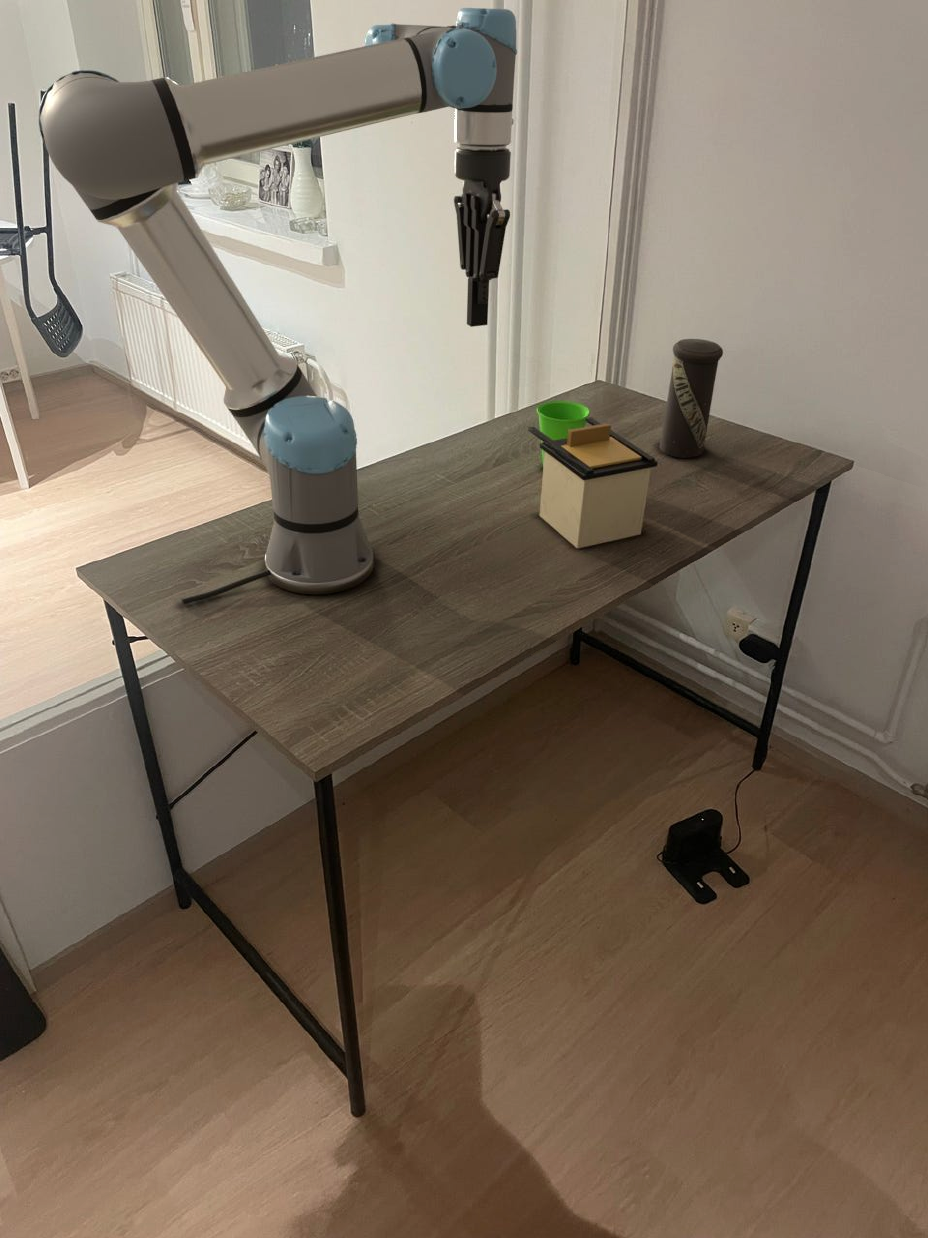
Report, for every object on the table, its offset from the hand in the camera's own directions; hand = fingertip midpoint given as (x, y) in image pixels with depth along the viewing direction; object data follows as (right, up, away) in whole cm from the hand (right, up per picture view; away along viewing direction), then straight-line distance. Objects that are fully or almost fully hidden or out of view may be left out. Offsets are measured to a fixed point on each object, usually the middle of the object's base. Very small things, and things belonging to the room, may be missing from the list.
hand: (477, 324), depth 135 cm
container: (+39, -12, +35) cm, 53 cm away
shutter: (+19, -19, +1) cm, 27 cm away
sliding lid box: (+17, -28, +11) cm, 34 cm away
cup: (+15, -17, +26) cm, 35 cm away
